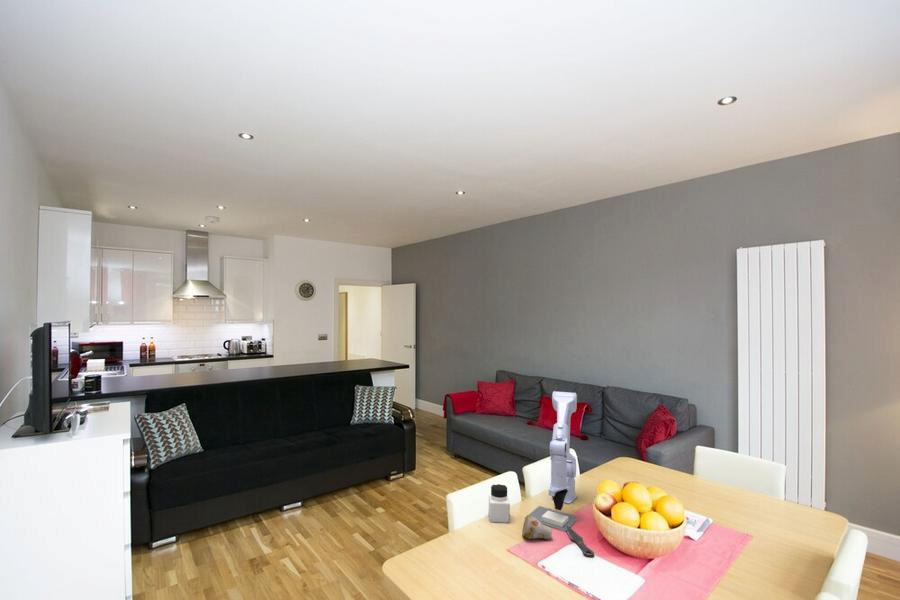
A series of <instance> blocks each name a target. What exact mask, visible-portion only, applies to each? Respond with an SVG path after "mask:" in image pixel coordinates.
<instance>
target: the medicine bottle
mask: <svg viewBox="0 0 900 600" xmlns="http://www.w3.org/2000/svg"><path fill="white" fill-rule="evenodd" d="M510 509H511V508H510V500H509V497H508V486H507V485H505V484H503V483H494V484H492V485H491V486H490V494H489V495H488V517H489V522H490V523H506V524H507V523H508V524H509V523H510Z"/></svg>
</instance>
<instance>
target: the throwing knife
mask: <svg viewBox="0 0 900 600" xmlns="http://www.w3.org/2000/svg"><path fill="white" fill-rule="evenodd" d="M565 527H566V530H567V532H566V533H567V534H568V537H569V539H570V540H571V541H573V542H575V543H576V545H578V546H579V548H580V550H581V553H582V555H583V554H584V555H583V556H585V557H588V558H593V557H594V556H595V552H594V551H593V550H591V549H590V548H589V547H588V546H587V545H586V544H585V543H584V542H583V539H584V538H583V537H582V536H581V535H579V533H578V532H576V531H575V530H574V529H572V527H568V526H567V525H565Z"/></svg>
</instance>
